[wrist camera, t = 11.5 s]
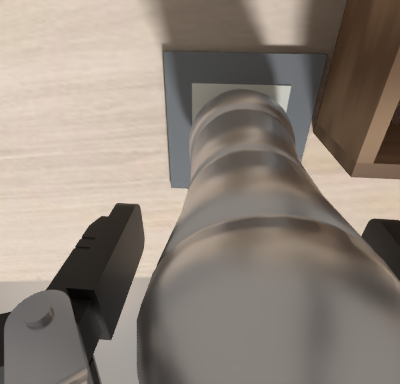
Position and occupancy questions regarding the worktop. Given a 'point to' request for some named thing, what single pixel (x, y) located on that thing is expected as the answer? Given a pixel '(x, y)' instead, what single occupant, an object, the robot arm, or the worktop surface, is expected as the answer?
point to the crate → (364, 91)
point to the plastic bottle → (264, 269)
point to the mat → (235, 79)
